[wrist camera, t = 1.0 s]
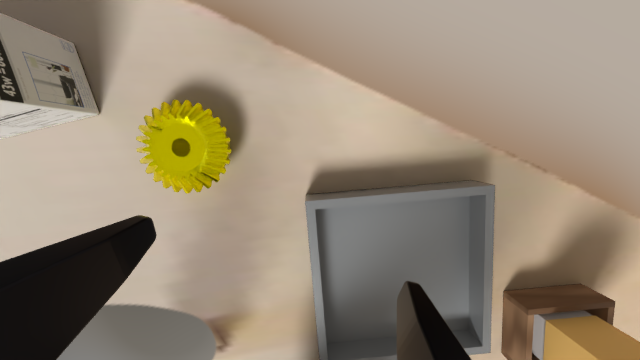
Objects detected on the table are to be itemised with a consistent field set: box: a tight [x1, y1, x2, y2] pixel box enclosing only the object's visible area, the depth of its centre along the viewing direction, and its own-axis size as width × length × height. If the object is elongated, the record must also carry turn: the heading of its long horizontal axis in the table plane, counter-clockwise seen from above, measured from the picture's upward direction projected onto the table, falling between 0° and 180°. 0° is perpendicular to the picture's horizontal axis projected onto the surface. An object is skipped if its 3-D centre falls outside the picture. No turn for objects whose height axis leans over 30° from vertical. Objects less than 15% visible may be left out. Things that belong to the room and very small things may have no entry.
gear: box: [136, 100, 231, 193], centre depth 21 cm, size 8×4×8 cm
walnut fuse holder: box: [502, 284, 615, 360], centre depth 25 cm, size 8×9×3 cm
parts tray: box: [305, 180, 495, 360], centre depth 24 cm, size 17×17×3 cm
